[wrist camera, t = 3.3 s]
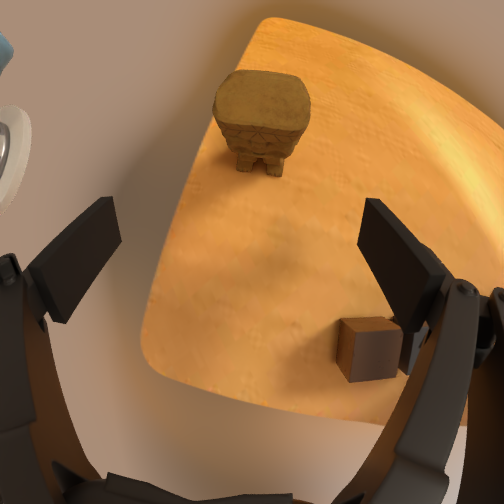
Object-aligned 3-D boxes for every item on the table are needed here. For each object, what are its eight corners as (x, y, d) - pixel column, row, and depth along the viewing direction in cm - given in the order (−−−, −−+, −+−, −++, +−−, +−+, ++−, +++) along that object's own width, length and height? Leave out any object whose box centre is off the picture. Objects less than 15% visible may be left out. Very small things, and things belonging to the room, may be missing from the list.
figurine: (229, 173, 33) (208, 121, 18) (237, 124, 33) (224, 52, 18) (287, 181, 33) (309, 133, 18) (293, 131, 33) (314, 62, 18)
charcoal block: (387, 358, 33) (406, 375, 27) (393, 316, 33) (415, 327, 27) (422, 353, 33) (444, 368, 27) (428, 313, 33) (453, 323, 27)
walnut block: (335, 362, 33) (348, 383, 27) (340, 318, 33) (355, 332, 27) (377, 359, 33) (396, 377, 27) (383, 316, 33) (404, 328, 27)
